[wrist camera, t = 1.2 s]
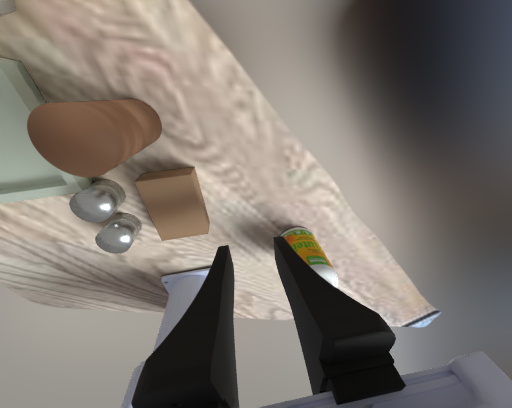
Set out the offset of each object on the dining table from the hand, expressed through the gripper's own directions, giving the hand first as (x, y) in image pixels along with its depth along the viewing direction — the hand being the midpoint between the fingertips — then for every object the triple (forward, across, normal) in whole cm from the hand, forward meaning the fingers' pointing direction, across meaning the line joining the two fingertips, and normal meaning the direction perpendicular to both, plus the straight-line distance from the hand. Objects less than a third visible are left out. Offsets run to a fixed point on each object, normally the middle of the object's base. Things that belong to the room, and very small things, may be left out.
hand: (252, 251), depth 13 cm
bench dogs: (+9, +14, 0) cm, 16 cm away
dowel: (+9, +8, -8) cm, 15 cm away
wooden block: (+10, +7, 0) cm, 12 cm away
